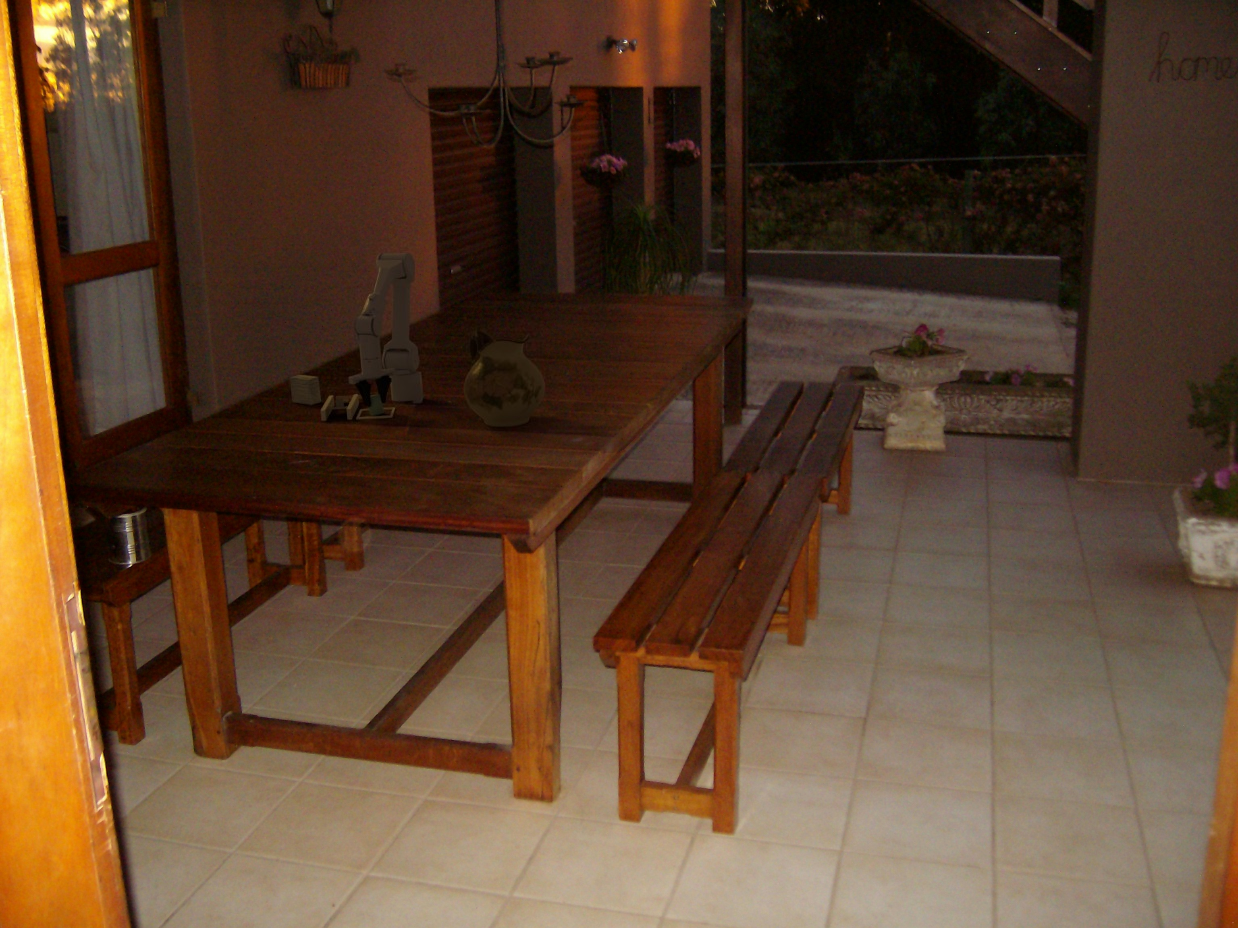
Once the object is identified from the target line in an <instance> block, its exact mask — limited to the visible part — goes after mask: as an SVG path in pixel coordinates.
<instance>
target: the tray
mask: <svg viewBox="0 0 1238 928" xmlns="http://www.w3.org/2000/svg"><path fill="white" fill-rule="evenodd" d="M383 409H384V411H389V410H390V411H391V412H390V414H389V415H374V416H361V415H362V413H363V412H370V411H369V408H361V409H359V411H358V413H357V415H356V417H355V419H356V420H370V419H372V420H373V419H375V420H376V419H391V418H393V416H394V414H395V411H396V406H394V407H383Z"/></svg>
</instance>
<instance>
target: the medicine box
mask: <svg viewBox="0 0 1238 928" xmlns="http://www.w3.org/2000/svg"><path fill="white" fill-rule="evenodd" d="M289 384H290V392H291V400H292V403H295V404H303V405H309V406H312V405H315V404H319V403H321V402H322V398H321V388H320V381H319V377H318V376H313V375H306V374H297V375H294V376H292V377H289Z"/></svg>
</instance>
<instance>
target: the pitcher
mask: <svg viewBox="0 0 1238 928" xmlns="http://www.w3.org/2000/svg"><path fill="white" fill-rule="evenodd" d="M530 337H531V333H528V334H527V335H526V336H525V338H524V339H523V340H522V341H518V340H512V339H504V338H499V339H495V340H494V339H493V338H492V337H491V336H490V335H489V334H488V333H486V332H484V331H482V330H480V329H476V330H474V332H473V333H472V334H471V336H470V339H469V353H470V358H471V361H472V362H471V364H470V370H469V372H468V373H467V375H466V377H465V380H464V382H463V394H464V398H465V400H466V402H467V405H468V406H469V407H470V408H471V410H472V411H473V412H474V413H475V414H476V415H477V416H479V417H480V418H481V419H482V420H483V422H484V424H486V426H488V427H493V428H513V427H518V426H522V425H525V424H527V423H529V421H530V417H531V415H532V414H533V413H534V412H535V411H536V409H537V408H538V407H539V406H540V404H541V403H542V400H543V398H544V396H545V391H546V383H545V378H544V377H543V374H542V373H541V371H540V370H539V369H538V367H537V366H536V365H535V364H534V363H533V362H532V361H531V360H530V359H529V358H528V357H526V355H525V354H524V345H525V344H526V343H527V342H528V340H529V339H530Z"/></svg>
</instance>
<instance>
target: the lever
mask: <svg viewBox="0 0 1238 928" xmlns="http://www.w3.org/2000/svg"><path fill="white" fill-rule="evenodd" d="M353 395H354V394H351V395H336V396H335V406H334V407H327V409H330V410H331V409H332V410H347V407H348V406H346V405H344V403H348V402H349V403H350V400H351V399H352V397H353ZM358 398H359V400H360V399H362V396H361V394H358Z"/></svg>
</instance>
